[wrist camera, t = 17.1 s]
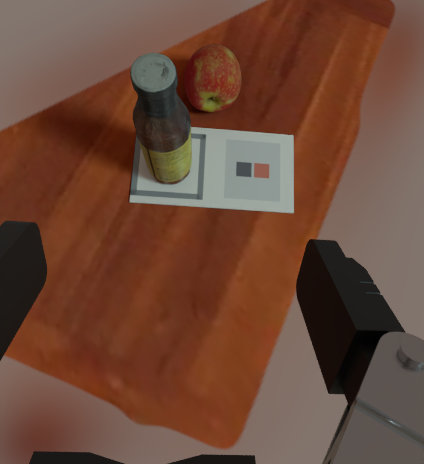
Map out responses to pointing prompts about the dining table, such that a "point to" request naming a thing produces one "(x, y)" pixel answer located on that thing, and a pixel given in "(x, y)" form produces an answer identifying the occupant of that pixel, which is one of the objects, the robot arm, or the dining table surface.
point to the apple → (212, 78)
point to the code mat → (226, 173)
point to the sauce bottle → (161, 119)
